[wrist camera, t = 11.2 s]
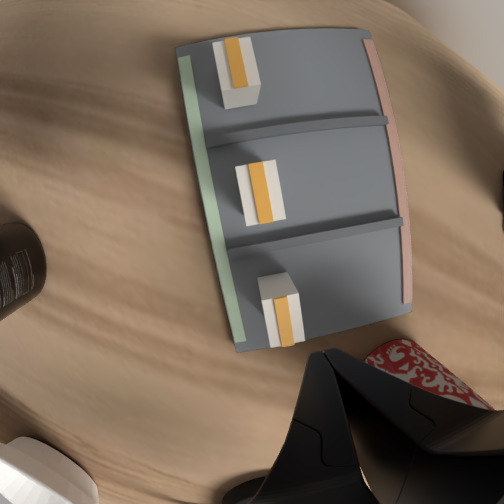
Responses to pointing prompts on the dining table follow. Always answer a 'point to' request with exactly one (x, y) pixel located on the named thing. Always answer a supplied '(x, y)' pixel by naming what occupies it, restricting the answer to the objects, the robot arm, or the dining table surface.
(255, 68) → the block
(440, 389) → the mug
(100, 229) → the dining table surface
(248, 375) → the dining table surface
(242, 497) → the lamp
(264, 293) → the block
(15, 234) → the supplement bottle
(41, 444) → the bowl
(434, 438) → the robot arm
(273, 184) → the block
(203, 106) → the panel
